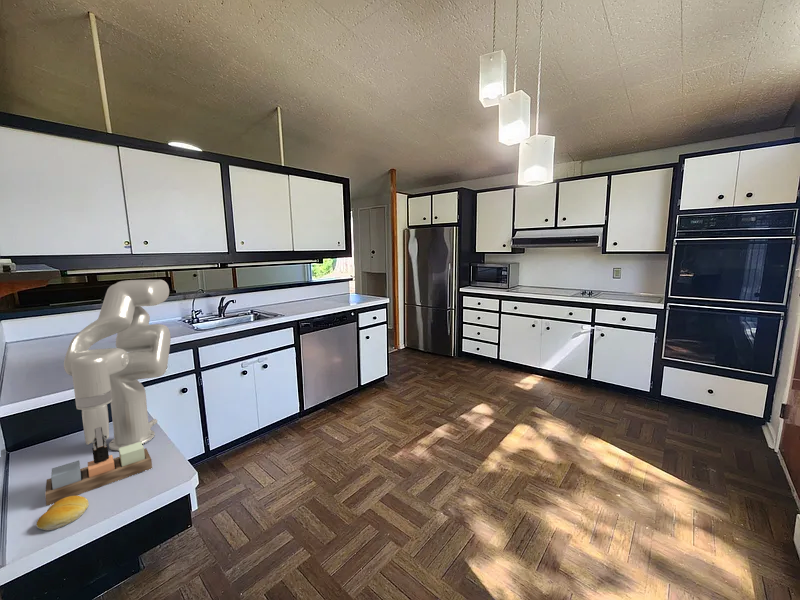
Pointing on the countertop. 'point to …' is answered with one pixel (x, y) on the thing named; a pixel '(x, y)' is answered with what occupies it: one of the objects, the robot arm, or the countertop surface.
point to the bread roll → (63, 512)
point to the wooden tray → (96, 479)
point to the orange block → (100, 466)
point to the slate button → (66, 474)
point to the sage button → (131, 454)
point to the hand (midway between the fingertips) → (101, 459)
